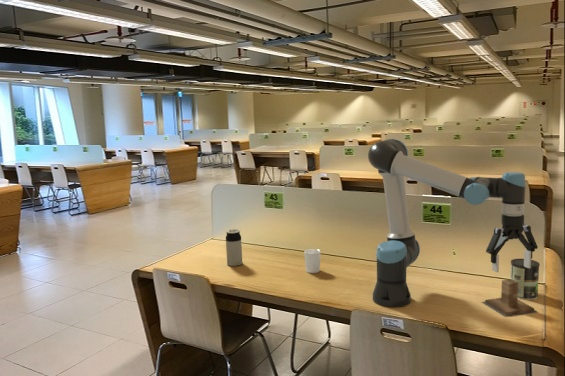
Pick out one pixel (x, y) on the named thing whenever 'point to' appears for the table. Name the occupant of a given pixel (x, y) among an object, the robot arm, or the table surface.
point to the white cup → (312, 260)
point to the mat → (508, 315)
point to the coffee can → (525, 278)
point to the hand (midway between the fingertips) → (511, 269)
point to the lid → (509, 300)
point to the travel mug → (233, 247)
